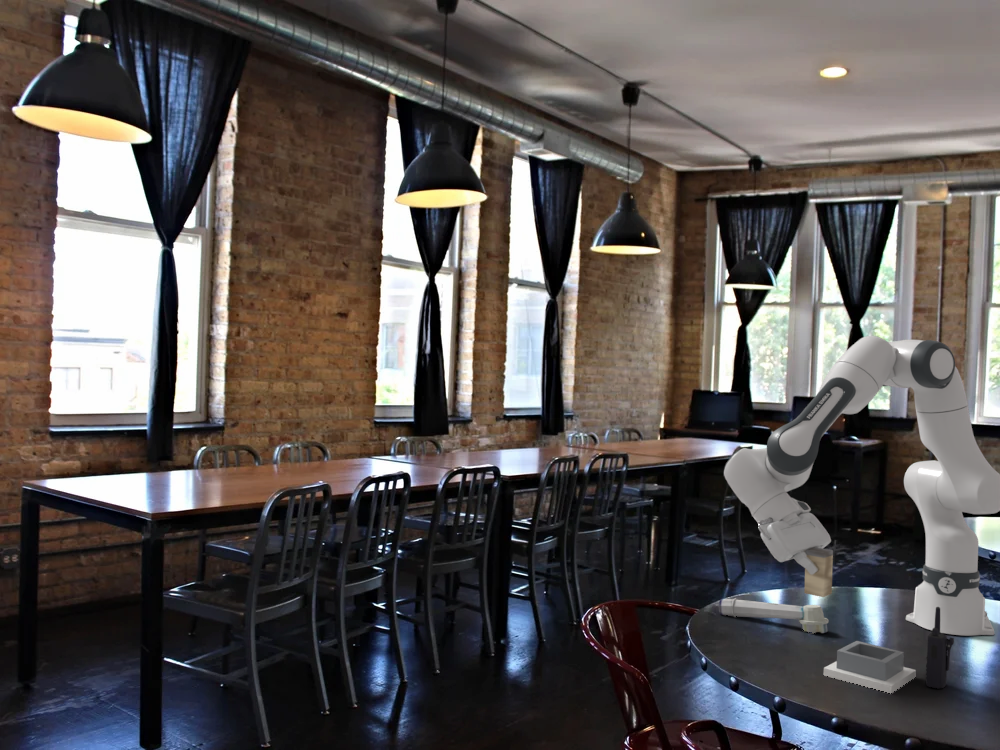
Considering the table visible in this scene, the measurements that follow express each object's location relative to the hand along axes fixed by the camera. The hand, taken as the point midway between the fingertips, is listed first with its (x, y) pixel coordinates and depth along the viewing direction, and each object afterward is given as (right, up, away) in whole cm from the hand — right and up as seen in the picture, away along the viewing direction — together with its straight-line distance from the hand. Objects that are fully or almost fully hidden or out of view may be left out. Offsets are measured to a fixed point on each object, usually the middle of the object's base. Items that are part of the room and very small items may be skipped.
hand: (821, 570), depth 181 cm
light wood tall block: (-1, -5, +1) cm, 5 cm away
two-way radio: (+18, -20, -11) cm, 29 cm away
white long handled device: (-2, -19, +28) cm, 34 cm away
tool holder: (+7, -19, -7) cm, 22 cm away
